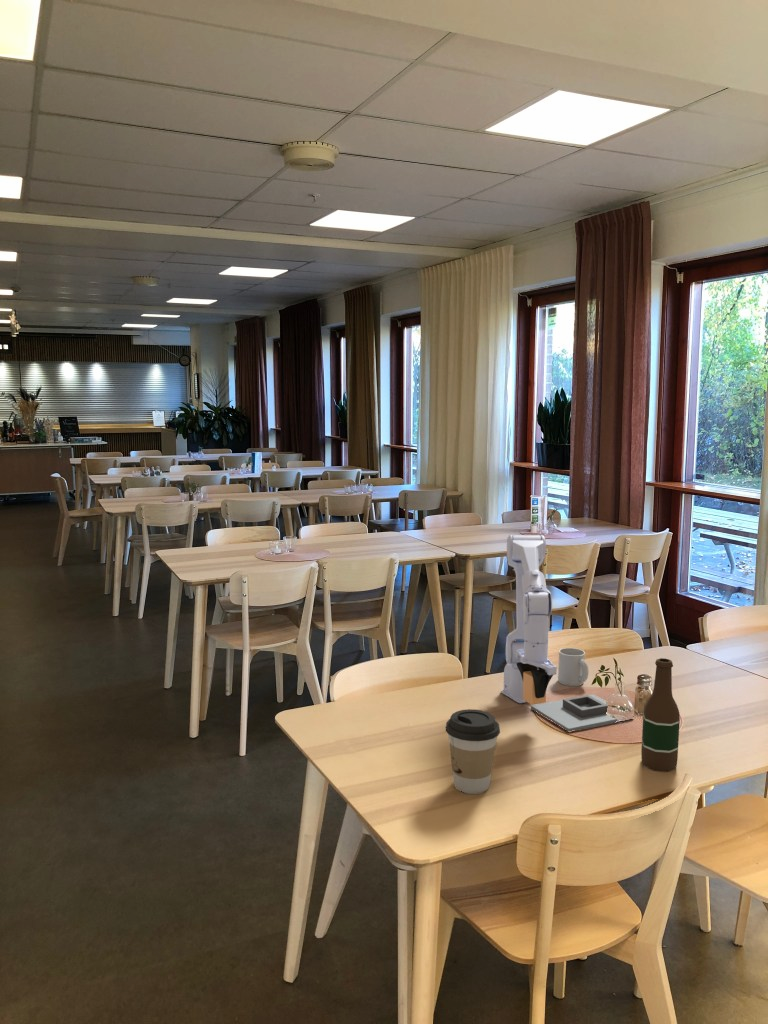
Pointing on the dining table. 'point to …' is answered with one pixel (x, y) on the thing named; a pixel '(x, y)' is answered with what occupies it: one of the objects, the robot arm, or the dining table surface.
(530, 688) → the orange rectangular block
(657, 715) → the beer bottle
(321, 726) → the dining table surface
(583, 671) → the cup
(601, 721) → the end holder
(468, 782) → the coffee cup
